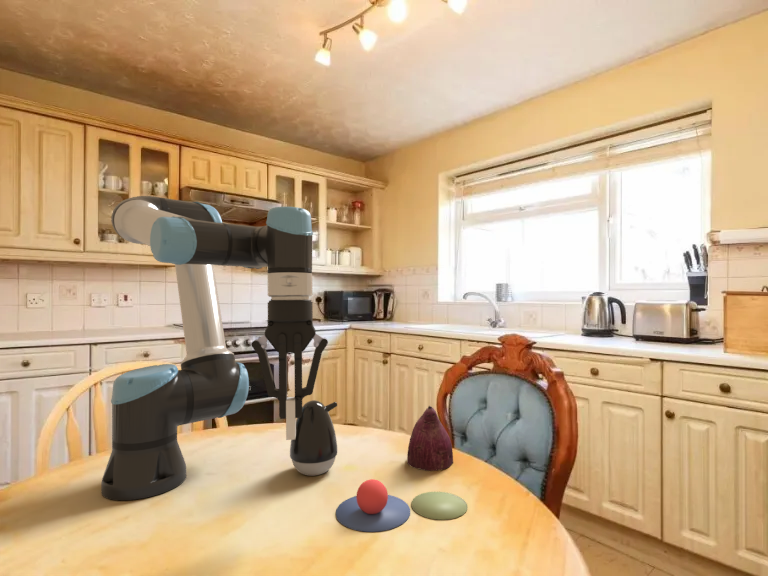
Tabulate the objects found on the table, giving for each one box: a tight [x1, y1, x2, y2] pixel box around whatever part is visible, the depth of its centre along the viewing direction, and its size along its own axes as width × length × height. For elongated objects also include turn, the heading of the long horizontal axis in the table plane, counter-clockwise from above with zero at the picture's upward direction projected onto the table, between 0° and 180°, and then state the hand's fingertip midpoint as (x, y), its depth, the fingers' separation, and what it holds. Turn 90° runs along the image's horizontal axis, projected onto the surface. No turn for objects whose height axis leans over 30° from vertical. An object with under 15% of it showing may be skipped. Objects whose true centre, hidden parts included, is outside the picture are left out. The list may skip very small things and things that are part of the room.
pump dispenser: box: [289, 399, 338, 477], centre depth 93 cm, size 10×10×15 cm
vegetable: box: [406, 405, 454, 472], centre depth 96 cm, size 10×10×15 cm
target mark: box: [335, 494, 411, 533], centre depth 75 cm, size 13×13×1 cm
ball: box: [355, 478, 389, 514], centre depth 75 cm, size 6×6×6 cm
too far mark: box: [410, 491, 468, 521], centre depth 77 cm, size 10×10×1 cm
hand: (291, 436), depth 73 cm, fingers closed
